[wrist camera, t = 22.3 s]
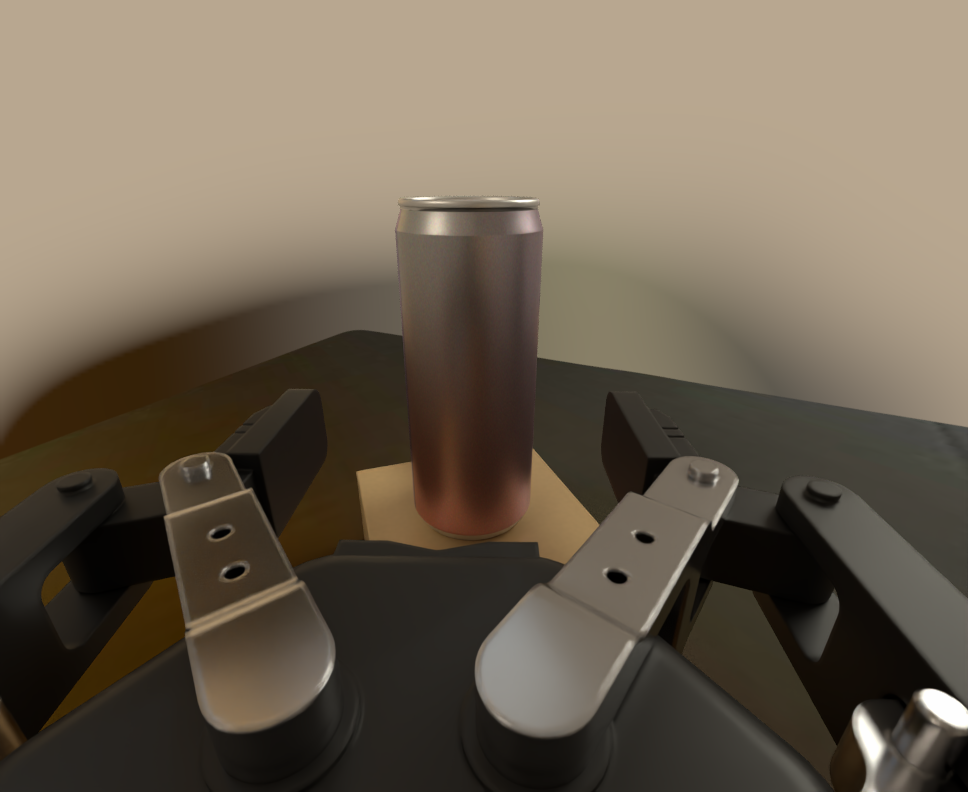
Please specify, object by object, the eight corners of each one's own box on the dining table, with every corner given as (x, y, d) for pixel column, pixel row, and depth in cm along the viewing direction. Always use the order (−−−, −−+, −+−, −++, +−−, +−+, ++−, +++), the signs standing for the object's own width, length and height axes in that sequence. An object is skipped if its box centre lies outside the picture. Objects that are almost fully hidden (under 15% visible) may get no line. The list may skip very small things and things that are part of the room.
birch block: (524, 503, 34) (526, 440, 32) (611, 628, 24) (623, 551, 22) (364, 538, 31) (355, 470, 28) (393, 699, 21) (383, 615, 19)
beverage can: (404, 487, 27) (381, 196, 21) (503, 467, 29) (508, 195, 23) (431, 559, 22) (411, 201, 16) (549, 529, 24) (573, 199, 18)
